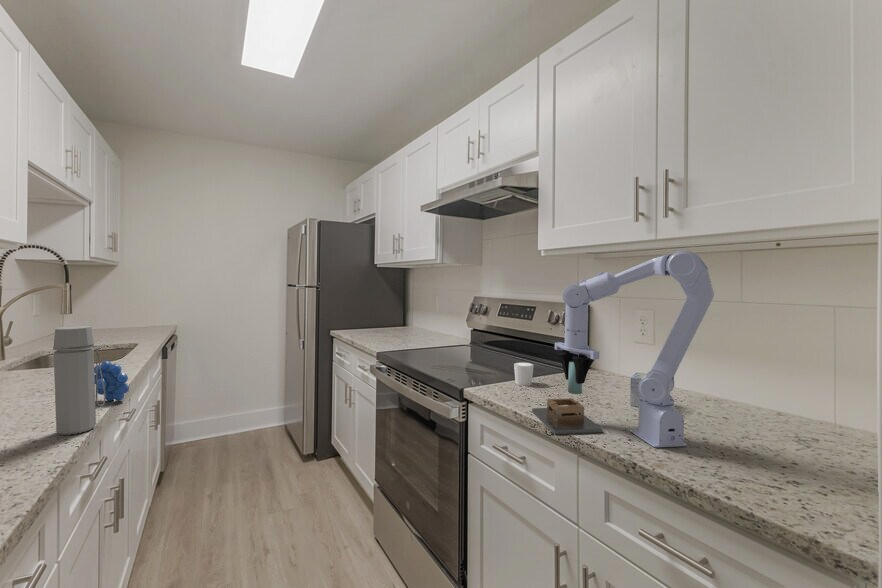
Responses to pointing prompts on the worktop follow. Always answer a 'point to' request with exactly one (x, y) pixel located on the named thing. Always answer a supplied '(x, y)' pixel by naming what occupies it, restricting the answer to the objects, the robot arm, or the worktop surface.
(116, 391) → the grapes
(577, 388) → the teal cylinder
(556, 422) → the wooden crate on slab
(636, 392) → the medicine box
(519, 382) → the white cup
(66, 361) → the water bottle
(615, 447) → the worktop surface
